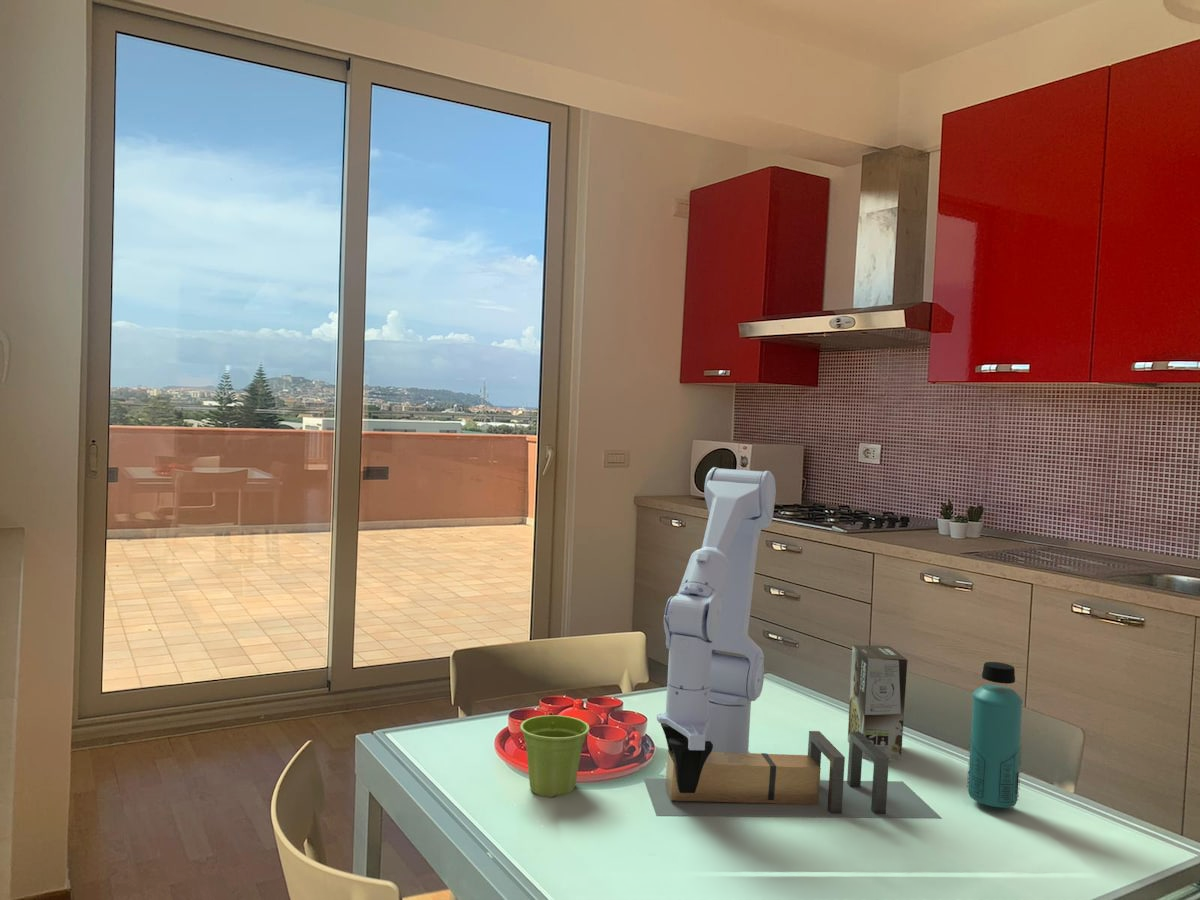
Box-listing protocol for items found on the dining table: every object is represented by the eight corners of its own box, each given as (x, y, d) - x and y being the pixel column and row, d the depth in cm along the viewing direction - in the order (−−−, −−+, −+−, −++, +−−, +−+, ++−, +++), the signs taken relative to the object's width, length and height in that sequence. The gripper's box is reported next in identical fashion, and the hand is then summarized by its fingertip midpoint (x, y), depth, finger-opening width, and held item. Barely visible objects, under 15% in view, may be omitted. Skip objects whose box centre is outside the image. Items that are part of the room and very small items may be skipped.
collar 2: (874, 814, 117) (878, 757, 117) (846, 783, 127) (850, 731, 127) (885, 814, 118) (889, 757, 117) (857, 783, 127) (860, 731, 127)
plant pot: (503, 792, 119) (506, 728, 119) (540, 770, 128) (543, 710, 127) (564, 809, 115) (567, 743, 115) (598, 785, 123) (601, 723, 123)
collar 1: (830, 813, 117) (833, 757, 117) (806, 783, 127) (809, 730, 127) (841, 813, 117) (844, 757, 117) (816, 783, 127) (819, 731, 127)
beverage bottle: (1023, 822, 118) (1032, 672, 118) (970, 815, 120) (979, 667, 119) (1010, 802, 125) (1020, 660, 124) (960, 796, 126) (969, 655, 125)
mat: (656, 818, 114) (656, 815, 114) (643, 780, 126) (643, 778, 126) (941, 821, 117) (942, 818, 117) (902, 784, 129) (902, 781, 129)
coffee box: (902, 763, 138) (909, 659, 137) (861, 761, 138) (867, 657, 137) (885, 742, 147) (891, 645, 146) (845, 740, 147) (851, 643, 146)
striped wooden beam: (670, 800, 118) (673, 762, 117) (665, 786, 122) (667, 749, 122) (817, 804, 119) (820, 767, 119) (806, 790, 124) (809, 754, 124)
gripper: (651, 668, 126) (646, 762, 127) (668, 700, 112) (662, 806, 112) (700, 669, 127) (695, 763, 128) (723, 701, 113) (717, 807, 113)
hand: (683, 784), depth 120 cm, fingers closed on striped wooden beam, 4 cm apart
